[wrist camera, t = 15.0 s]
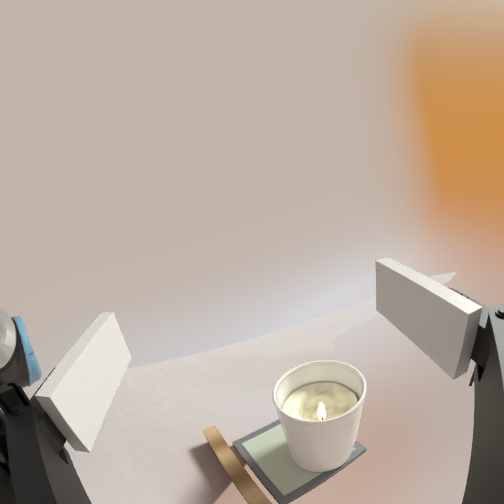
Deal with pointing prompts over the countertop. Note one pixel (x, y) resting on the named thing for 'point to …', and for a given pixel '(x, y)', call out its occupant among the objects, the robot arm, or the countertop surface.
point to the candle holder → (320, 412)
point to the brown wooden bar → (234, 468)
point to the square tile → (282, 463)
